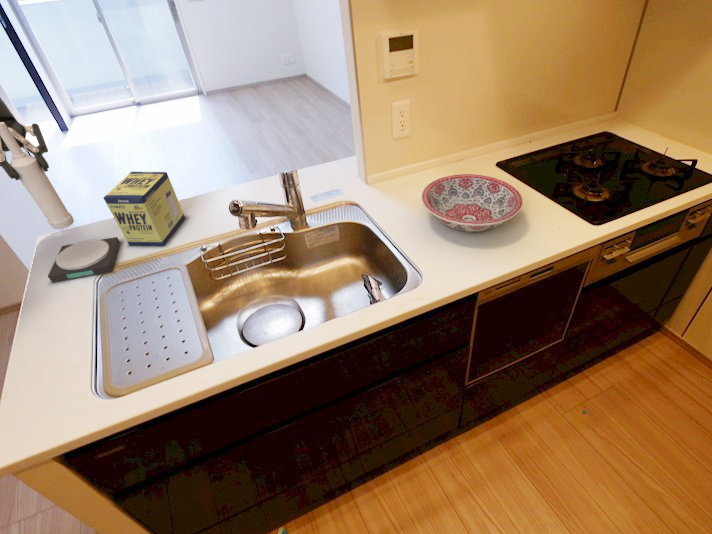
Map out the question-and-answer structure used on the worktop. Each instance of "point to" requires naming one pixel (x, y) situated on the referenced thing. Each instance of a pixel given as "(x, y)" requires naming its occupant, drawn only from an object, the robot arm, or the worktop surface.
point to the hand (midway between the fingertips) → (31, 173)
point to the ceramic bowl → (471, 201)
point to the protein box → (145, 208)
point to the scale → (85, 259)
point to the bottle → (36, 182)
